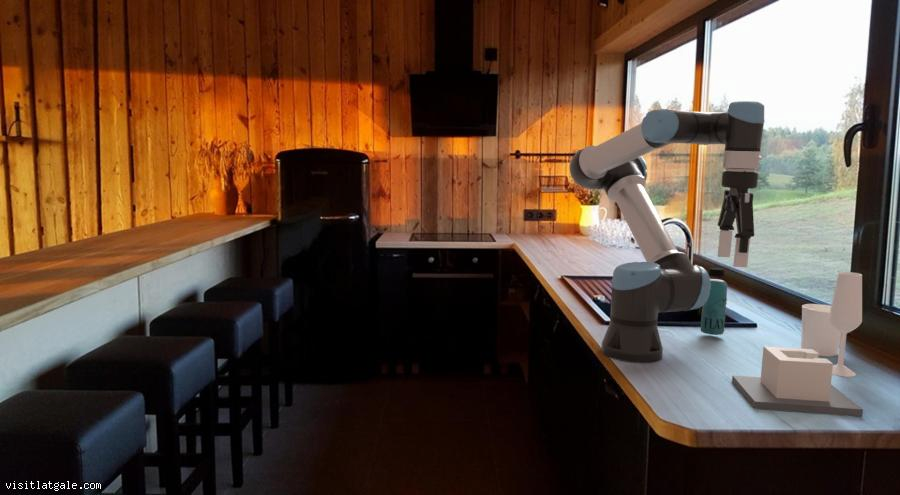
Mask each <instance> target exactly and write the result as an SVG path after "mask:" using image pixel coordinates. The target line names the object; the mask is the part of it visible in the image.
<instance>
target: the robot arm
mask: <svg viewBox="0 0 900 495" xmlns="http://www.w3.org/2000/svg"><path fill="white" fill-rule="evenodd" d="M764 126H765V105H764V103H763V102H761V101H755V100H754V101H753V100H751V101H750V100H749V101H746V100H743V101H742V100H741V101H738V100H737V101H732V102H730V103H729V104H728V109H727V111H726V112H725V111H724V112H723V111H721V112H720V111H719V112H706V111H705V112H704V111H692V110H691V111H690V110H689V111H688V110H675V109H668V108H666V109H665V108H662V109H652V110H650V111H648V112H647V113H645V116H644V117H643V118H642V120H641V123H639V124H637V125H635V126H633V127H631V128H629V129H627V130H625V131H622V132H621V133H619V134H617V135H616V136H613V137H611V138H609V139H608V140H605V141H604V142H601V143H600V144H597V145H588V146H585V147H584V148H582V149H579V151H577V152H576V153H575V154H574V155H573V157H572V158H571V160H570V163H569V174H570V176H571V179H572V180H573V181H574V183H576V184H577V185H578V186H580V187H582V188H583V189H587V190H603V191H604V192H605V194H606V195H607V197H608V200H609V201H611V202H614V203H616V204H617V206H618V209H620V213H621V214H622V216H623V218H624V220H625V222H626V224H627V226H628V227H629V228H628V229H629V230H630V232H631V234H632V236H633V238H634V240H635V242H636V244H637V246H638V248H639V250H640V252H641V254H642V256H643V258H644V259H645V261H633V262H627V263H622V264H619V265H617V266H616V267H615V268H614V270H613V272H612V279H611V284H610V285H611V298H610V316H609V317H610V318H609V319H610V320H609V323H608V324H609V325H608V327H607V329H606V332H605V334H604V336H603V339H602V341H601V350H600V351H601V353H602V354H603V355H605V356H606V357H608V358H610V359H611V358H612V359H615V360H618V361H623V362H630V363H651V362H657V361H660V360H662V358H663V355H664V354H663V353H664V352H663V351H664V348H663V345H662V341H661V336H660V333H659V329H658V317H659V313H669V312H671V313H672V312H681V311H683V312H688V311H692V310H697V309H700V308H701V307H703V305H704V304H705V302H706V301H707V299H708V297H709V294H710V289H711V283H710V279H711V278H710V275H709V272H708V271H707V269H705V268H704V267H702V266H701V265H700V266H699V265H698V264H694V265H693V263H692V262H691V259H690V258H689V257H688V255H687V254H686V253H685V252H682V251H678V249H677V247H676V245H675V243H674V241H673V239H672V238H671V236H670V234H669V232H668V230H667V229H666V226H665V224H664V222H662V219H661V217H660V216H659V214H658V212H657V210H656V208H655V206H654V205H653V203H652V200H651V199H650V196H648V194H647V192H646V190H645V188H646V184H647V178H648V172H647V170H648V166H647V162H646V161H645V159H644V158H643V156H644V155H646V154H647V155H648V154H650V153H651V152H653V151H656V150H659V149H661V148H664V147H666V146H668V145H671V144H689V145H690V144H692V145H702V146H707V145H724V151H723V152H724V153H723V160H722V161H723V162H722V168H723V169H725V170H723V172H722V175H721V183H720V184H721V186H722V187H723V188H729V189H725V190H724V191H723V193H724V195H723V201H722V204H721V209H720V213H719V218H718V222H717V226H718V227H719V237H718V249H717V257H718V258H731V253H732V252H731V249H732V241H733V231H735V226H734V222H736V230H737V233H735V235H734V238H735V247H734V255H733V256H734V257H733V267H734V268H748V262H749V261H748V260H749V252H750V251H749V250H750V242H751V238H752V237H753V238H754V236H755V223H754V221H755V220H754V205H753V204H754V193H752V192H751V193H749V189H750V190H751V189H756V188H758V183H759V181H758V180H759V173H758V172H756V170H758V169H760V168H759V167H760V162H761V161H762V160H763V157H762V156H761V149H762V140H763V131H764Z"/></svg>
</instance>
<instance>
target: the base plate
mask: <svg viewBox="0 0 900 495" xmlns="http://www.w3.org/2000/svg"><path fill="white" fill-rule="evenodd" d="M760 381H761V376H747V375H734V374H733V375H732V377H731V383H732V384H733V385H734V386H735V387H736V389H737V390H738V391H739V392H740V393H741V394H742V395H743V397H744V398H745V399H746V400H747V402H748V403H749V404H750V405H751V406H752V408H754V410H755V409H756V410H767V411H768V410H770V411H771V410H772V411H782V412H795V413H810V414H821V415H822V414H823V415H835V416H837V415H839V416H850V417H860V418H861V417H863V414H864V413H863V412H864V409H863V408H862V407H861V406H860V405H858V404H857V403H855V402H854V401H853V400H852V399H850V398H849V397H848V396H846V394H844V393H843V392H842V391H841V390H839V389H838V388H837V387H835V386H834V385H832V384H831V388H830V398H829V402H826V401H812V400H798V399H784V398H776V397H775V396H774V395H773V394H772V393H771V392H770V391H769V390H768V389H767V388H766V387H765V386H764V385H763V384H762V383H761V382H760Z"/></svg>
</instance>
